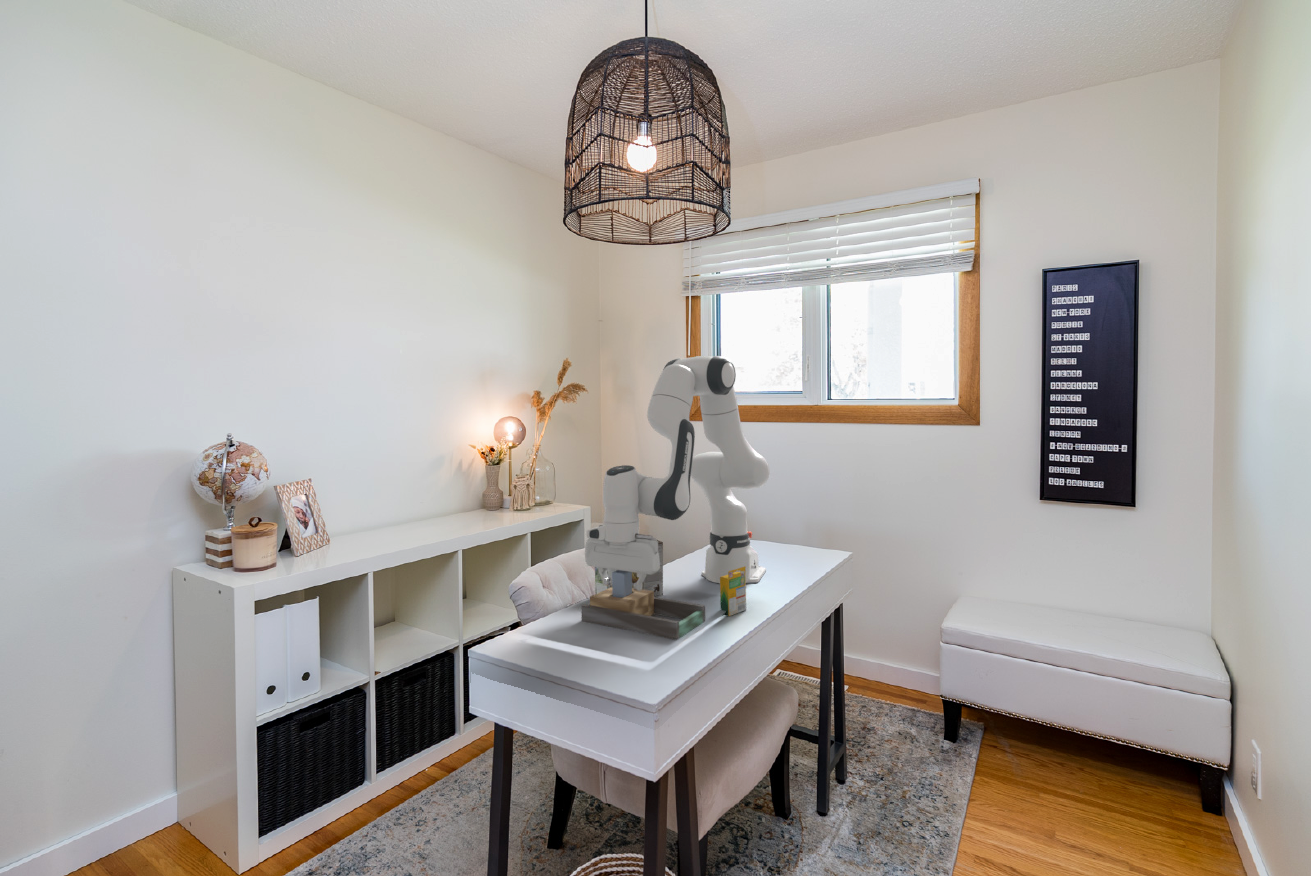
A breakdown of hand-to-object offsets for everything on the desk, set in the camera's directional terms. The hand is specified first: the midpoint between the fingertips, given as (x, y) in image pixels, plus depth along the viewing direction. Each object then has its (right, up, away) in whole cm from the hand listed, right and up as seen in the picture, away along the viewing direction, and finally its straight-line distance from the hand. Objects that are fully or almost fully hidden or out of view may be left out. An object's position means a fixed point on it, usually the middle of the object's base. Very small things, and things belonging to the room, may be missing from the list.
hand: (622, 587), depth 158 cm
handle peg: (0, -6, 0) cm, 6 cm away
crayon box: (+28, -8, +7) cm, 30 cm away
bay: (+5, -9, -3) cm, 10 cm away
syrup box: (-5, -8, +18) cm, 20 cm away
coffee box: (+6, -8, +22) cm, 24 cm away
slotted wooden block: (0, -7, 0) cm, 7 cm away
